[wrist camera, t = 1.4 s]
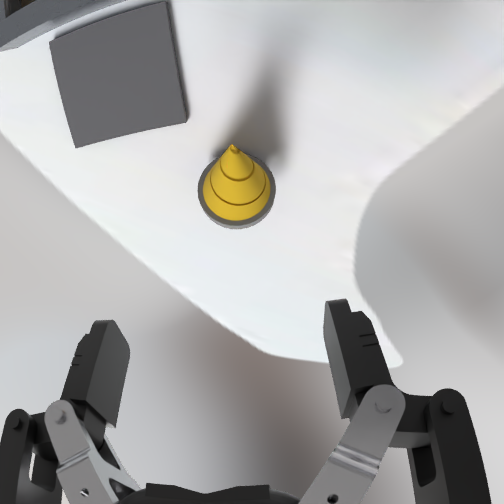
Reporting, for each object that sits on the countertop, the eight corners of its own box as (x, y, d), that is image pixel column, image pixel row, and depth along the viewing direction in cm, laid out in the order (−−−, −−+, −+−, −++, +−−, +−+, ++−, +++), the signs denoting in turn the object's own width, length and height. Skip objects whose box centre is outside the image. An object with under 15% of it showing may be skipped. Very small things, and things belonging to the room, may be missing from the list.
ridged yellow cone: (191, 199, 26) (160, 139, 16) (245, 161, 26) (243, 88, 16) (231, 251, 25) (219, 216, 15) (285, 210, 26) (306, 155, 16)
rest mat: (167, 2, 16) (165, 1, 15) (187, 120, 21) (186, 122, 21) (52, 41, 16) (48, 42, 16) (78, 145, 22) (75, 148, 21)
